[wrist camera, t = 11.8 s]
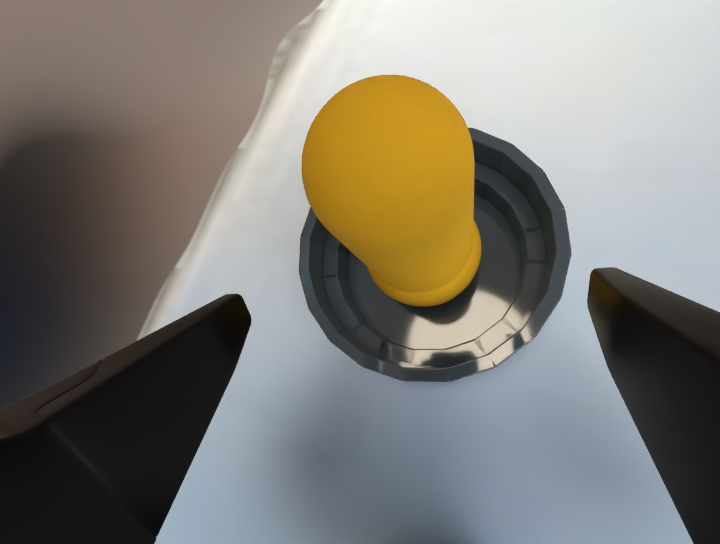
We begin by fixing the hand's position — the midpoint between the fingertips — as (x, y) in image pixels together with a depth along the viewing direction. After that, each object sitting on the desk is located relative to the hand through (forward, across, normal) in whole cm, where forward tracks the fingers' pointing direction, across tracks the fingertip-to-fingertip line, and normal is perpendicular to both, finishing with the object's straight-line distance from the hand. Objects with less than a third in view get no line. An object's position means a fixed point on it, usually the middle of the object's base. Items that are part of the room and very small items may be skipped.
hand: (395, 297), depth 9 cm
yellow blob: (+11, 0, +5) cm, 12 cm away
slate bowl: (+11, 0, +6) cm, 13 cm away
